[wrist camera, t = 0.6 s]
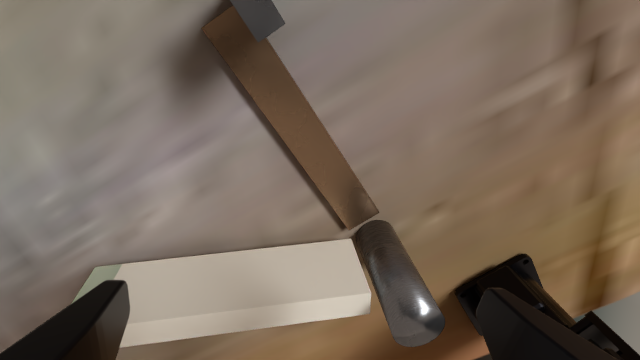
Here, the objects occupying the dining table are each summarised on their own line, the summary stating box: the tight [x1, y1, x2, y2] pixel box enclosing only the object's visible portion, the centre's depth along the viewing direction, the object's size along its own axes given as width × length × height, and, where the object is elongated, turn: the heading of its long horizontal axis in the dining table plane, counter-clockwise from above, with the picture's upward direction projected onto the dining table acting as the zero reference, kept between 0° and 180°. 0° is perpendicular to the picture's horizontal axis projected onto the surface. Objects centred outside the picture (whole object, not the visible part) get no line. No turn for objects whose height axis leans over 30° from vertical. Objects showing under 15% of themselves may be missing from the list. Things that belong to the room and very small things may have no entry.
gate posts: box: [202, 0, 445, 347], centre depth 18 cm, size 19×4×8 cm, turn 32°
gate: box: [71, 239, 371, 348], centre depth 20 cm, size 16×2×6 cm, turn 92°
